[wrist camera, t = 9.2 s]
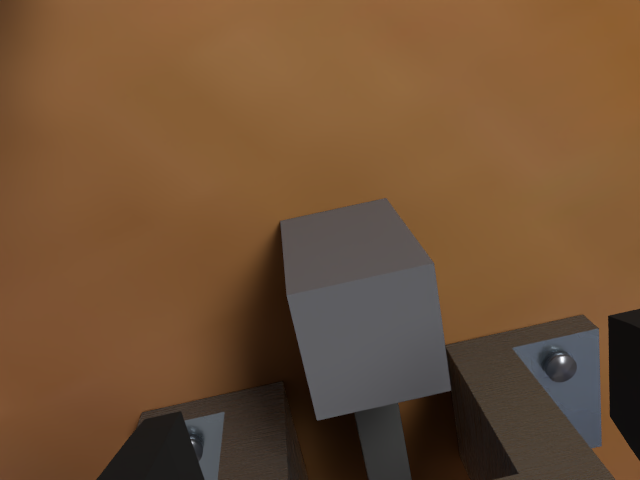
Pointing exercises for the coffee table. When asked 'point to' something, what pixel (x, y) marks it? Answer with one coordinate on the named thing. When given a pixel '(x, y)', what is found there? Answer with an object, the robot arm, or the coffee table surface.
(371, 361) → the plug
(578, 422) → the housing
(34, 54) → the coffee table surface
